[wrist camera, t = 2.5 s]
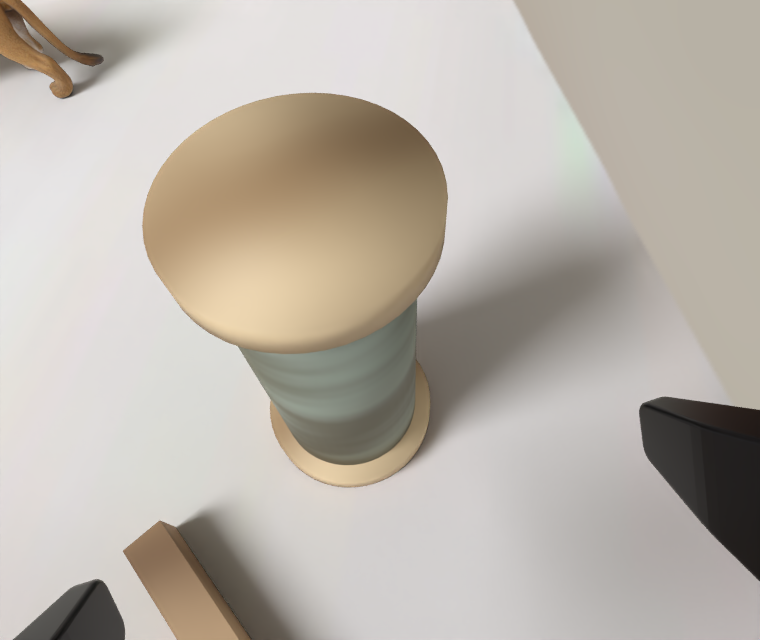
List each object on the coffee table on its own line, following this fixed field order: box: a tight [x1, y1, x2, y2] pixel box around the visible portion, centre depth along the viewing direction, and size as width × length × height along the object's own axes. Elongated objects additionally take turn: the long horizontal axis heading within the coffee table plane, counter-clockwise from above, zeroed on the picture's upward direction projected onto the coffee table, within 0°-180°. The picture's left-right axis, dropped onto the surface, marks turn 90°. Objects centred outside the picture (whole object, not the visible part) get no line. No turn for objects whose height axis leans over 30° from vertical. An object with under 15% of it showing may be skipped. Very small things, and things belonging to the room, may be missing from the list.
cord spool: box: [142, 93, 448, 487], centre depth 17 cm, size 6×6×13 cm
